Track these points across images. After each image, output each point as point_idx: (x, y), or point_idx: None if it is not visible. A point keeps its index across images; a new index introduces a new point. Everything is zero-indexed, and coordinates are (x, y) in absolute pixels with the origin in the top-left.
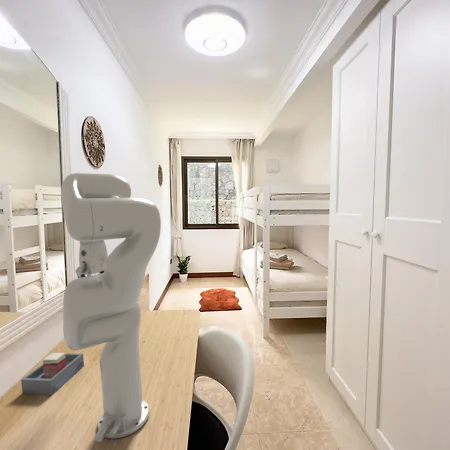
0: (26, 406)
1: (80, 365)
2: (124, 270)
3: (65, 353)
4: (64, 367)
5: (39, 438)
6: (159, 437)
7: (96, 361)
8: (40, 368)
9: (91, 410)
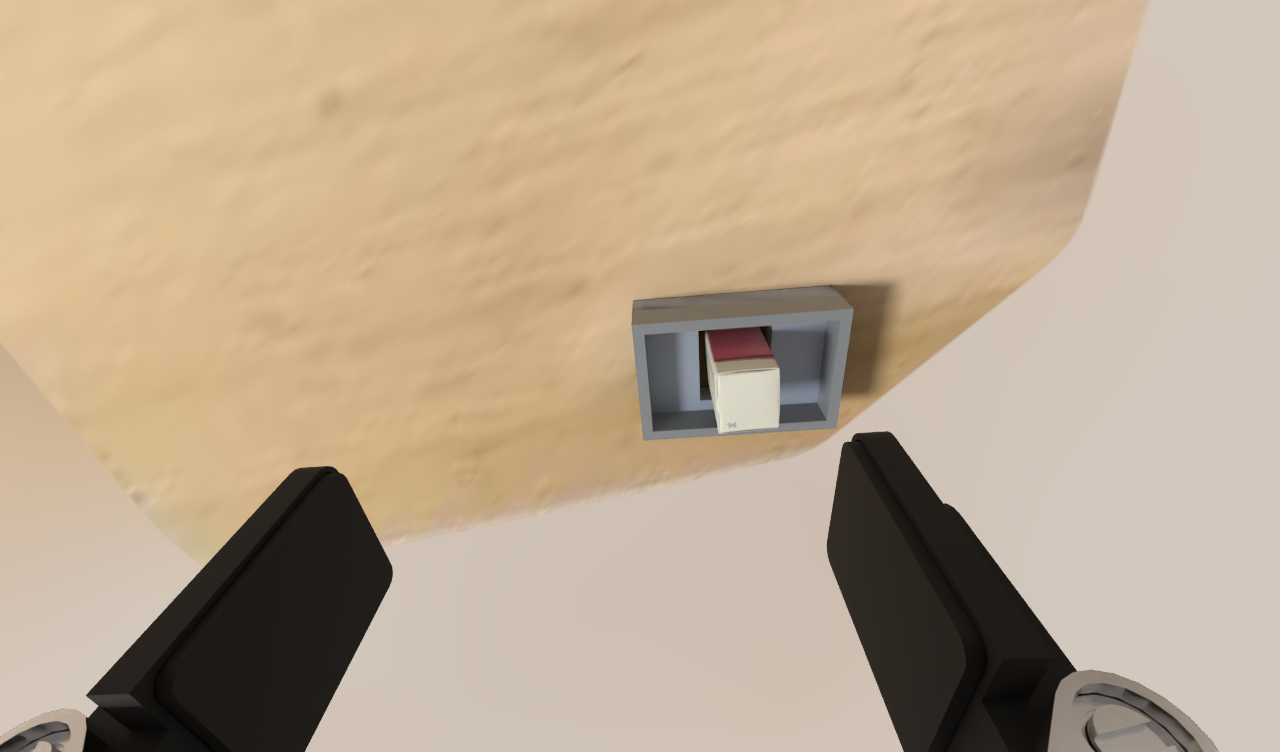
0: (888, 328)
1: (656, 305)
2: None
3: (641, 406)
4: (753, 325)
5: (1077, 137)
6: None
7: (590, 266)
8: None
9: (954, 12)
